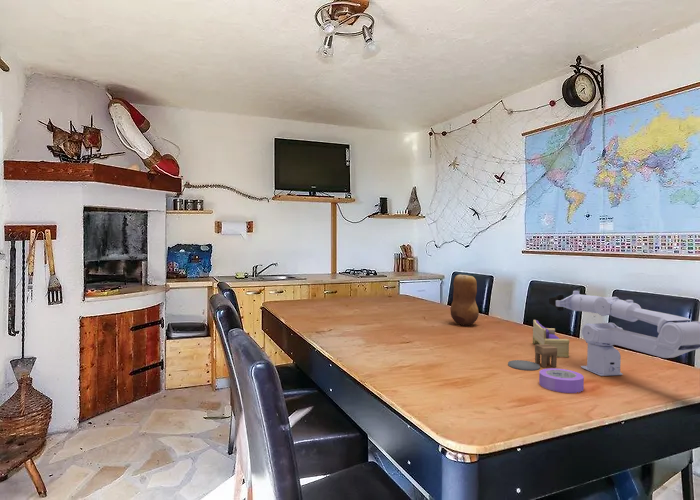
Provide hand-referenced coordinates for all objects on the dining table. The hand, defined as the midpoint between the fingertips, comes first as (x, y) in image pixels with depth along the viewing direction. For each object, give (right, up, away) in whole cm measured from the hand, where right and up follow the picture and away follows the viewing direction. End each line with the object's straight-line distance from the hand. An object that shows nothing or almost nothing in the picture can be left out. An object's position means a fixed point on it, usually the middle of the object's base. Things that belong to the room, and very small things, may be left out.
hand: (558, 300), depth 163 cm
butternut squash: (-20, -19, +57) cm, 63 cm away
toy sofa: (0, -21, +8) cm, 22 cm away
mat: (-18, -21, -14) cm, 31 cm away
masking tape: (-15, -22, -34) cm, 43 cm away
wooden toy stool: (-11, -21, -13) cm, 26 cm away
